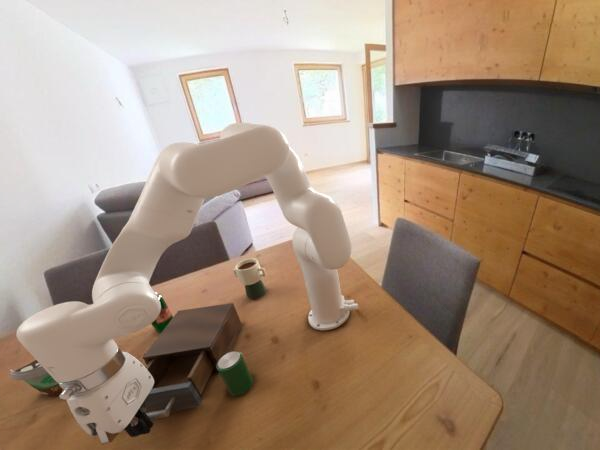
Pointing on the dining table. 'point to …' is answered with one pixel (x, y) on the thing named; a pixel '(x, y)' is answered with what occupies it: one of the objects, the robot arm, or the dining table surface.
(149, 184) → the robot arm
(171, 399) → the drawer
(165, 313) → the soda can
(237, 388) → the can
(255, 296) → the character mug
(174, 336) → the cabinet
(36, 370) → the food container
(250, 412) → the dining table surface
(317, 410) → the dining table surface
